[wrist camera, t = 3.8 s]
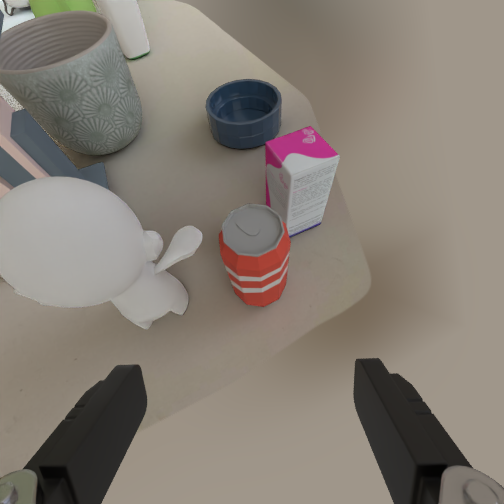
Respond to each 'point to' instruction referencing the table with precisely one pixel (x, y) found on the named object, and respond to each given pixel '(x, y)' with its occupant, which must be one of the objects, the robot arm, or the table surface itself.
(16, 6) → the coffee press
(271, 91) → the bowl
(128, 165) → the table surface
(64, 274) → the figurine
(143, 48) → the cup
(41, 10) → the teapot
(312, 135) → the supplement box
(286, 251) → the beverage can
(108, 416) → the robot arm
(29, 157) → the desk lamp
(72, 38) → the planter
